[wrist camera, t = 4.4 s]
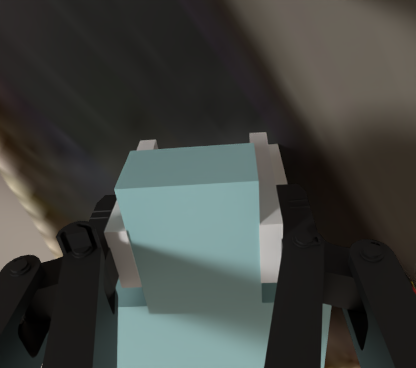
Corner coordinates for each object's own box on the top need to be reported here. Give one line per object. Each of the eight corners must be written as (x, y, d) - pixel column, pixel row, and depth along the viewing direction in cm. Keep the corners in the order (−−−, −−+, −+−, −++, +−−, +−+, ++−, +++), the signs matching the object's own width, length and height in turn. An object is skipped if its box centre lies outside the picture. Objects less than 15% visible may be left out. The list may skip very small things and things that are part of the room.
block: (67, 143, 15) (30, 194, 12) (326, 125, 14) (352, 175, 11) (155, 404, 26) (147, 463, 23) (304, 403, 25) (314, 464, 22)
